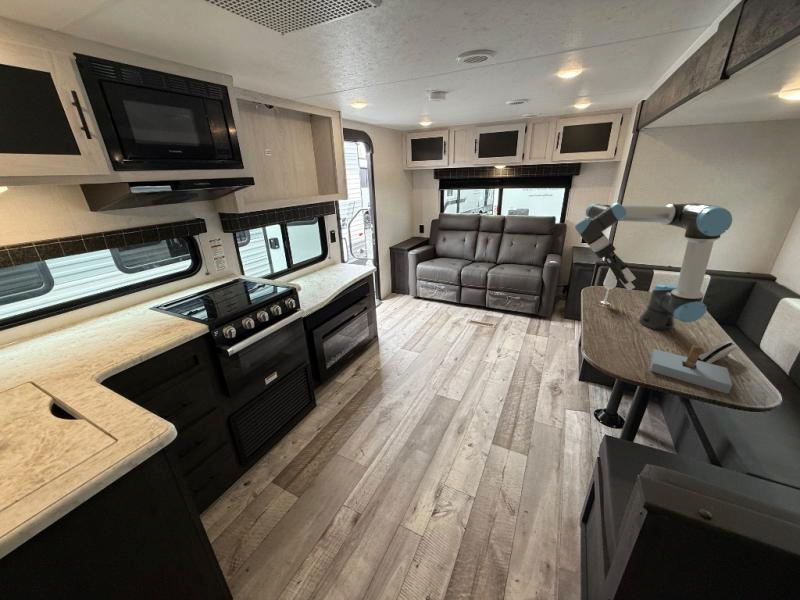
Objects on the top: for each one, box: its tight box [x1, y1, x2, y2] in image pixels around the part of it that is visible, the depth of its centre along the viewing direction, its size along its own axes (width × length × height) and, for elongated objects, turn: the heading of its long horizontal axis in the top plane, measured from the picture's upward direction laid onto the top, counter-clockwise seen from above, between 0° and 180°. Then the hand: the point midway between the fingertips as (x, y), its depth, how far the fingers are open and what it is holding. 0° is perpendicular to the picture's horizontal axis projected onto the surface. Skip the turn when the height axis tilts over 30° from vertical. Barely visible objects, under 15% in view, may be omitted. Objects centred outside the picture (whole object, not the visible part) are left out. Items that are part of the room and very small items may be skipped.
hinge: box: [698, 340, 738, 364], centre depth 140 cm, size 17×5×10 cm, turn 115°
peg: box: [684, 344, 703, 369], centre depth 129 cm, size 3×3×13 cm
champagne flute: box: [600, 267, 618, 304], centre depth 192 cm, size 7×7×24 cm
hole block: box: [649, 348, 733, 395], centre depth 130 cm, size 24×14×4 cm, turn 52°
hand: (632, 284), depth 141 cm, fingers open, 13 cm apart
